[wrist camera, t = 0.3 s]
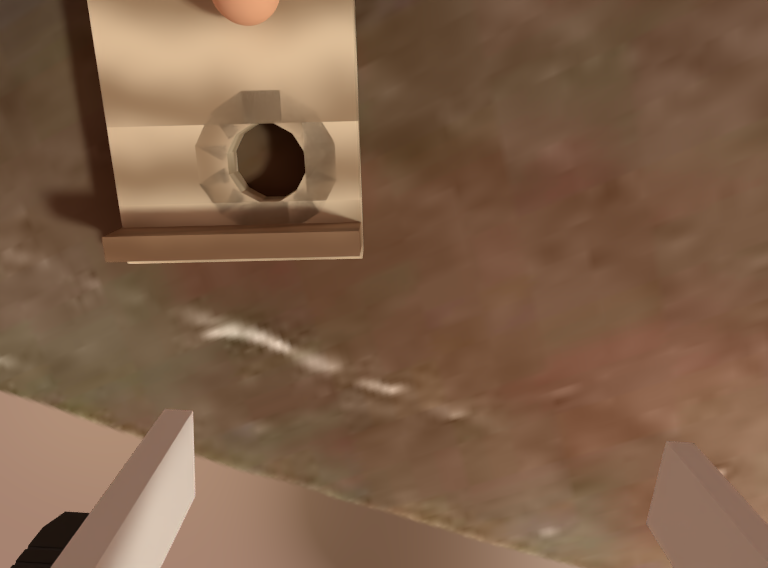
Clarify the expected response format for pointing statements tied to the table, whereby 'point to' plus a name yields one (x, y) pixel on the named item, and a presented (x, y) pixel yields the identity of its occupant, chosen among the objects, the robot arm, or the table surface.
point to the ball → (246, 10)
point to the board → (228, 129)
